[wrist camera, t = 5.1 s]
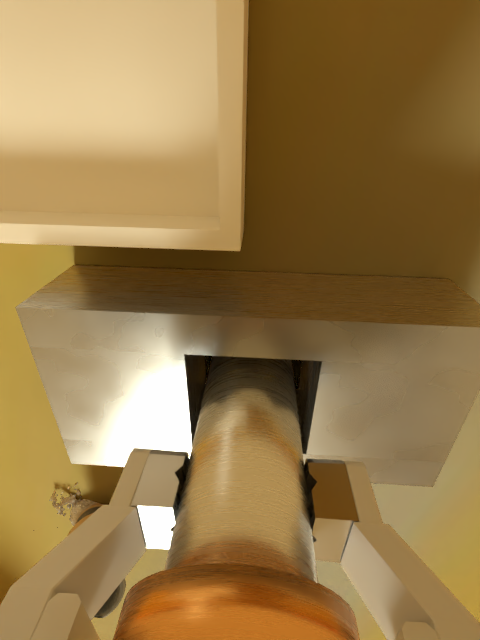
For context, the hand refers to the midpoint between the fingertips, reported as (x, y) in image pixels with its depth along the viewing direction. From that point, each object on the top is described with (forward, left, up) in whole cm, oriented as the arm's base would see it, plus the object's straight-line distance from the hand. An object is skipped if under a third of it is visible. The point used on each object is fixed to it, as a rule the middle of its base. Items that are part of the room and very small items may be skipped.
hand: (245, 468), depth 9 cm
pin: (0, 0, -6) cm, 6 cm away
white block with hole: (0, 0, -6) cm, 6 cm away
